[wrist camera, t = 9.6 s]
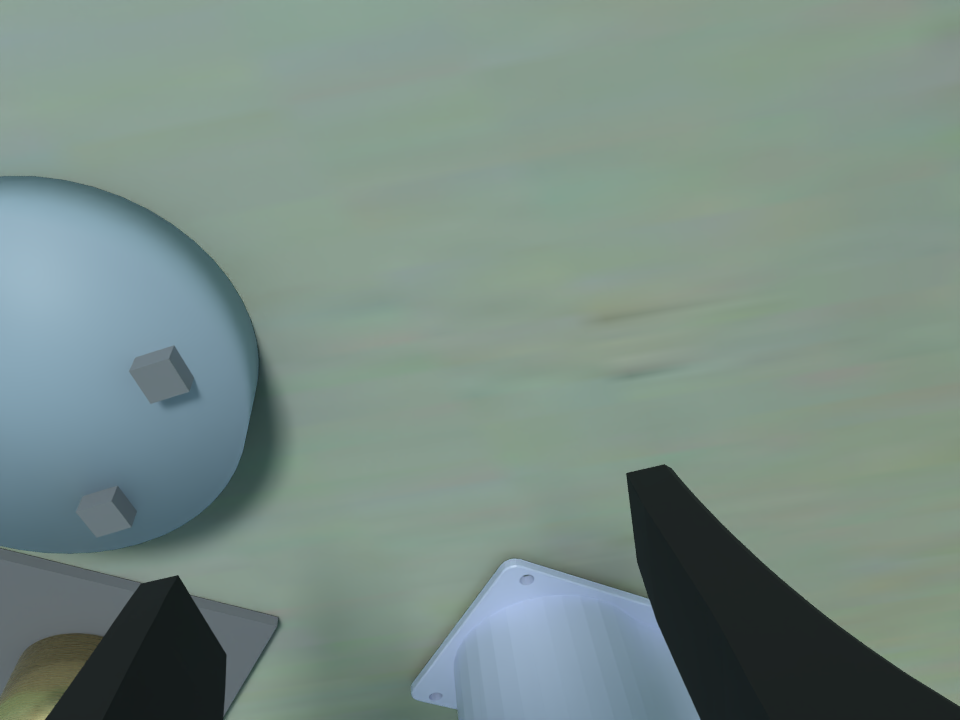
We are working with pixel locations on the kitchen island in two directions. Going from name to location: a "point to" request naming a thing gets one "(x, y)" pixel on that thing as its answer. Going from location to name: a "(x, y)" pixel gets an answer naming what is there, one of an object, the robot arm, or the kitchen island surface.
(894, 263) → the kitchen island surface
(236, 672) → the mat
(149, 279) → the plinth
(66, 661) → the knob
